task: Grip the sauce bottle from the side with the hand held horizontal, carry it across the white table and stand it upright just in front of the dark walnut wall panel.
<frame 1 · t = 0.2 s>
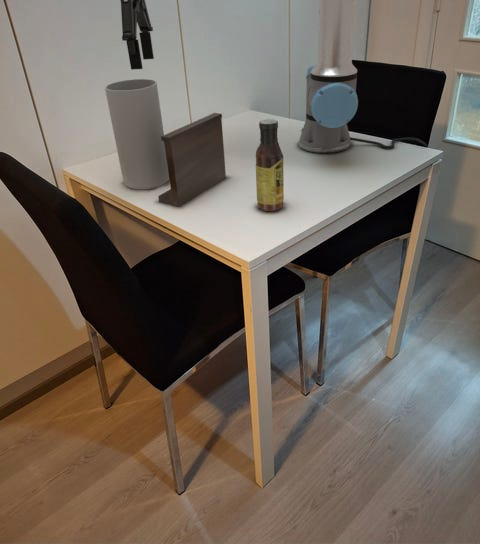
hand: (143, 64, 125), 28 cm above the table, tool pointing down, fingers open, 13 cm apart
cylinder vase: (147, 181, 131), on the table
sauce bottle: (270, 207, 114), on the table
wall panel: (200, 191, 124), on the table
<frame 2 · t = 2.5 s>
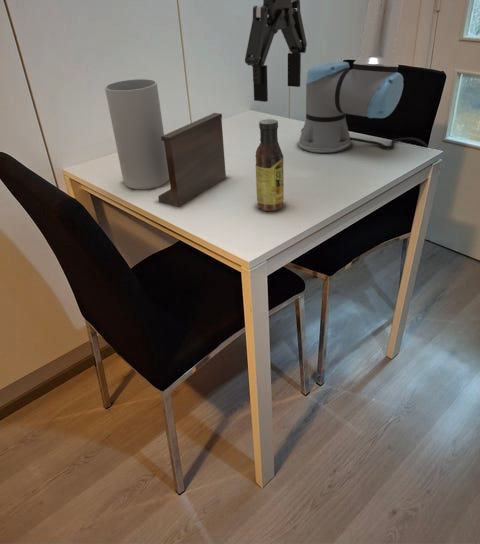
hand: (278, 93, 100), 26 cm above the table, tool pointing down, fingers open, 13 cm apart
nothing on the table moved.
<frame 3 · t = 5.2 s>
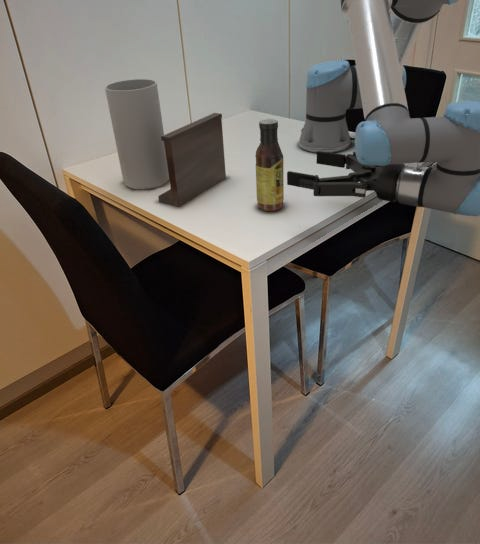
hand: (303, 167, 104), 11 cm above the table, tool horizontal, fingers open, 13 cm apart
nothing on the table moved.
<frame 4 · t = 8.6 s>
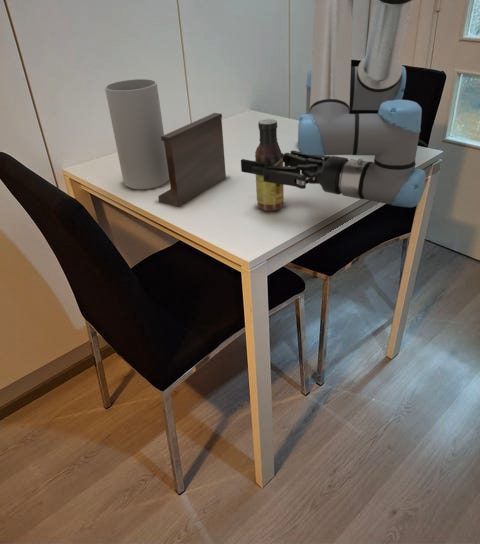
hand: (250, 160, 111), 11 cm above the table, tool horizontal, fingers closed on sauce bottle, 6 cm apart
sauce bottle: (270, 207, 114), on the table, touching gripper
everything else where it was.
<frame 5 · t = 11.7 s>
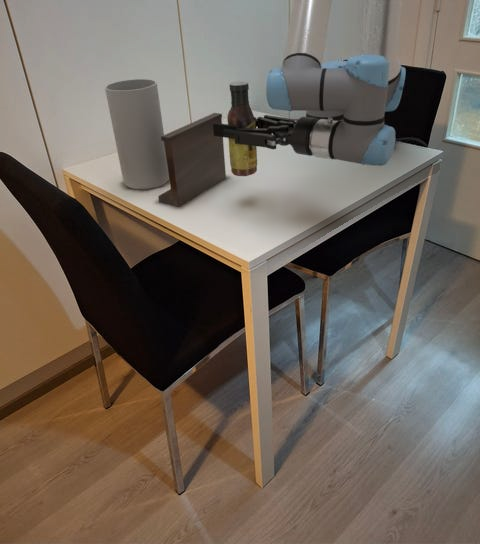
hand: (223, 125, 110), 18 cm above the table, tool horizontal, fingers closed on sauce bottle, 6 cm apart
sauce bottle: (244, 173, 113), point 7 cm above the table, touching gripper
everything else where it was.
when the fingers open (10 cm above the table, at t = 15.0 s): sauce bottle stays where it is, on the table.
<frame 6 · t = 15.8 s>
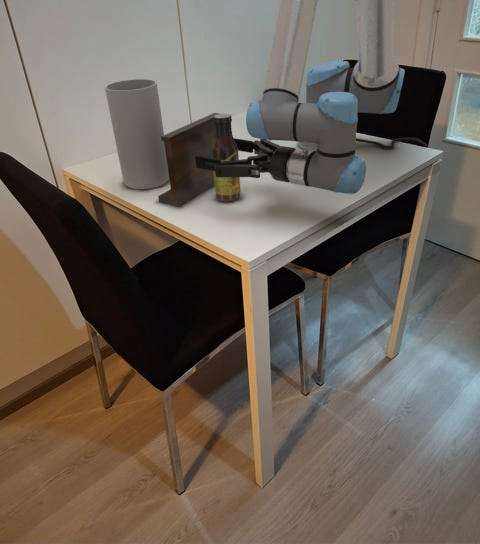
hand: (213, 152, 115), 11 cm above the table, tool horizontal, fingers open, 13 cm apart
sauce bottle: (228, 197, 120), on the table
everything else where it was.
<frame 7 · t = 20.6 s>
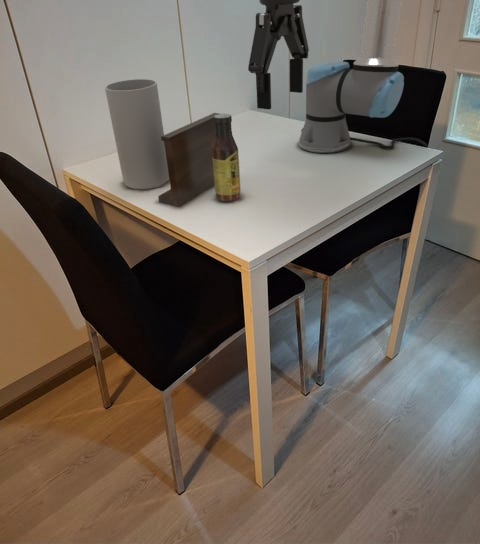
hand: (280, 100, 99), 25 cm above the table, tool pointing down, fingers open, 13 cm apart
nothing on the table moved.
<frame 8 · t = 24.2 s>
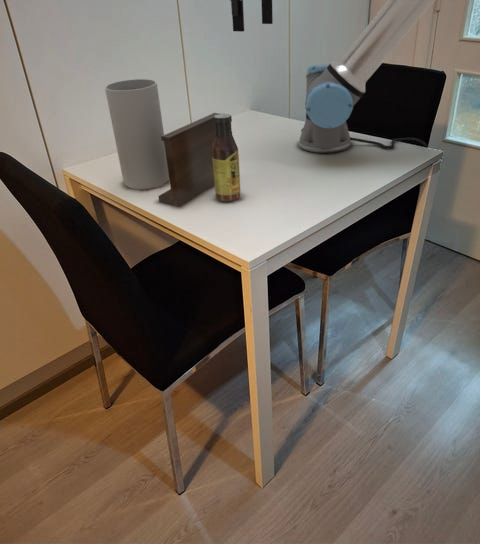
hand: (253, 27, 120), 35 cm above the table, tool pointing down, fingers open, 13 cm apart
nothing on the table moved.
at the end: sauce bottle 8.5 cm from the wall panel (horizontally); sauce bottle tilted 0°; the gripper is holding nothing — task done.
